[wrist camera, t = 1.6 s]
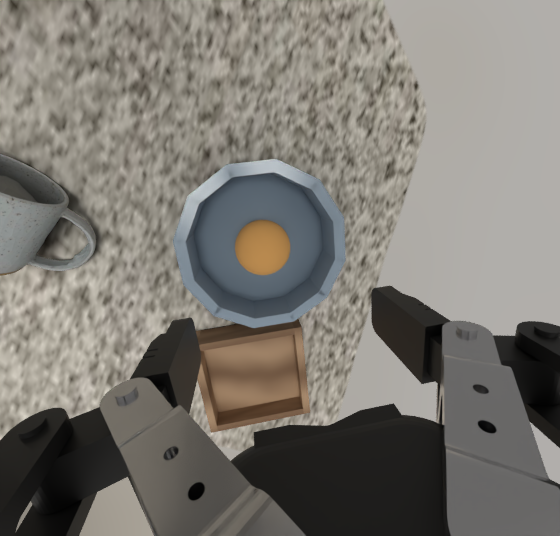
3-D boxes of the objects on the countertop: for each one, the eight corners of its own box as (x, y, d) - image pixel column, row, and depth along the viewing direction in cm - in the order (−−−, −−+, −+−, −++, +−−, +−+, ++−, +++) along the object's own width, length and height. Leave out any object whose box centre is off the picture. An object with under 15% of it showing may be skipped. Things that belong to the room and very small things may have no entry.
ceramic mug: (-39, 223, 24) (-154, 241, 17) (-1, 145, 23) (-109, 130, 16) (79, 283, 28) (23, 319, 20) (118, 218, 26) (73, 233, 19)
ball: (231, 220, 27) (229, 228, 22) (282, 213, 27) (292, 220, 22) (239, 269, 28) (239, 287, 23) (288, 262, 29) (297, 278, 24)
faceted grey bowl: (171, 174, 26) (156, 172, 21) (324, 156, 27) (341, 151, 22) (203, 313, 30) (196, 338, 26) (331, 292, 32) (347, 312, 27)
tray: (193, 331, 31) (189, 346, 28) (296, 314, 32) (301, 326, 29) (213, 412, 35) (211, 432, 32) (304, 394, 36) (310, 412, 33)
